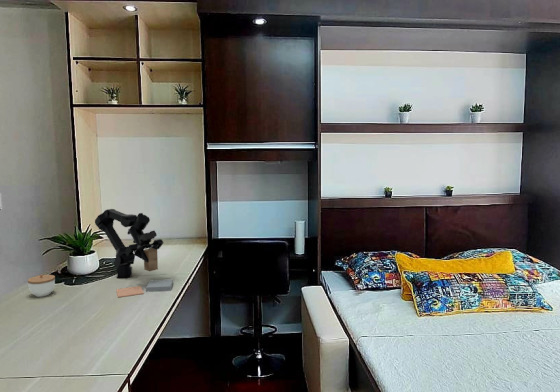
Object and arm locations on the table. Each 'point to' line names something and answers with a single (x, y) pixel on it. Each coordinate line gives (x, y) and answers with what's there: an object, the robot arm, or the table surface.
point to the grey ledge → (159, 285)
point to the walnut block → (151, 259)
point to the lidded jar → (41, 285)
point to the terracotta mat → (129, 291)
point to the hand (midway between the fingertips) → (152, 260)
